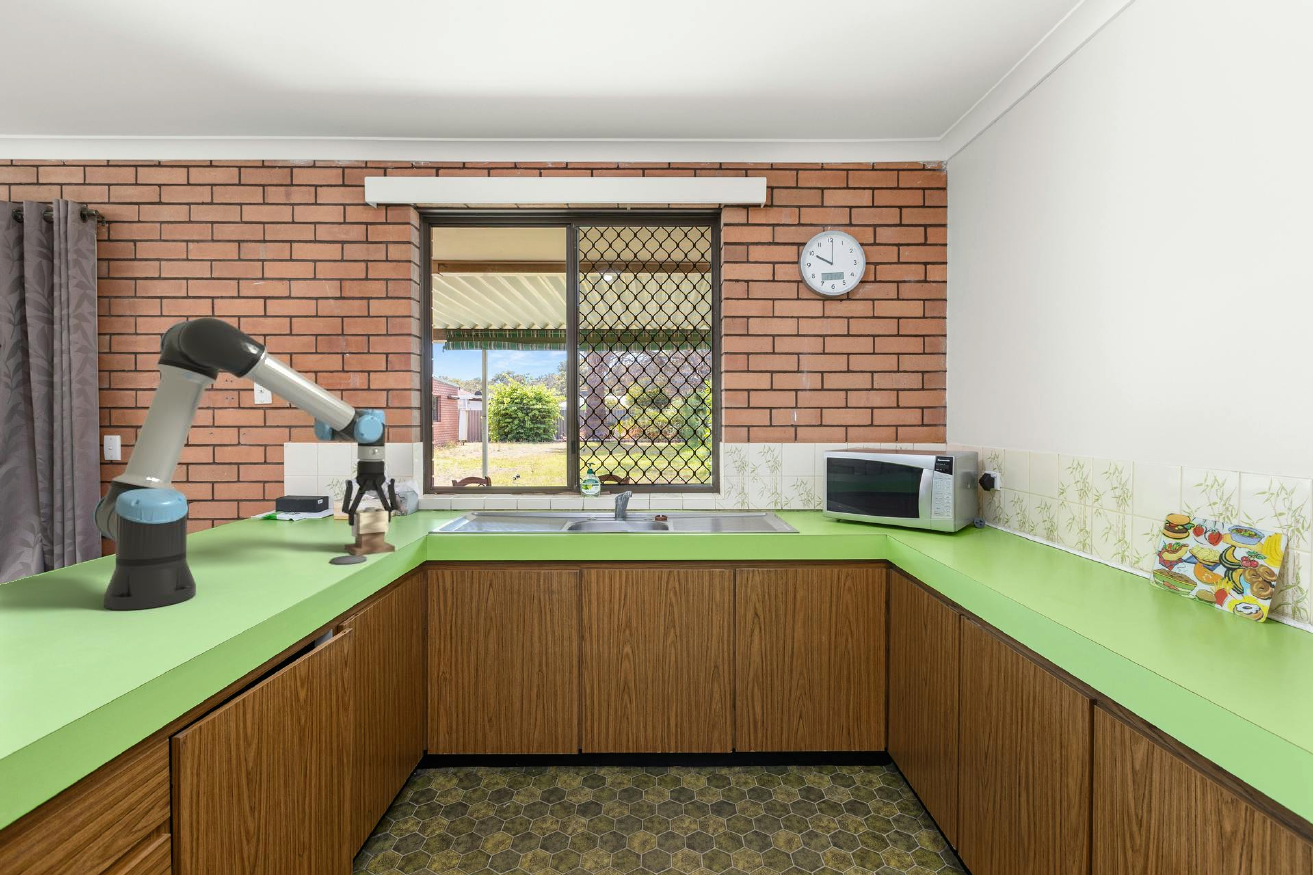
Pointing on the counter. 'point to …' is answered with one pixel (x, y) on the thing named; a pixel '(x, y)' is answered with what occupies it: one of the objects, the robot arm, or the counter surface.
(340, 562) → the rubber coaster
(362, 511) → the birch collar
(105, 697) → the counter surface
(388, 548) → the post stand
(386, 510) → the robot arm
